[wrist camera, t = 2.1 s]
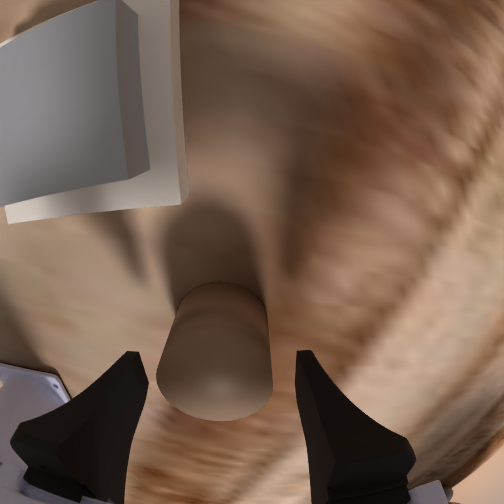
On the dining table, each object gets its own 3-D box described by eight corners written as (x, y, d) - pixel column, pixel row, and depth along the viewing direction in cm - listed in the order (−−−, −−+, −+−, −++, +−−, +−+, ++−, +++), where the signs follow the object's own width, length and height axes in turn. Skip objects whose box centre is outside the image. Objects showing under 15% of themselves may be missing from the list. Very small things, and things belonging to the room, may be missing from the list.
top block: (150, 169, 12) (128, 179, 10) (26, 194, 12) (-6, 208, 10) (137, 14, 10) (115, -5, 7) (13, 63, 10) (-19, 59, 7)
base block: (191, 192, 15) (181, 204, 13) (33, 211, 15) (8, 224, 13) (181, 1, 11) (170, -18, 9) (21, 51, 12) (-5, 46, 9)
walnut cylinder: (268, 354, 18) (272, 419, 13) (184, 355, 18) (169, 419, 13) (266, 279, 16) (272, 339, 12) (170, 282, 16) (144, 340, 12)
